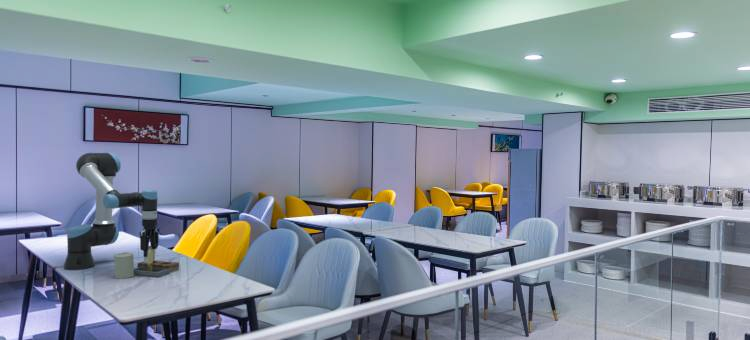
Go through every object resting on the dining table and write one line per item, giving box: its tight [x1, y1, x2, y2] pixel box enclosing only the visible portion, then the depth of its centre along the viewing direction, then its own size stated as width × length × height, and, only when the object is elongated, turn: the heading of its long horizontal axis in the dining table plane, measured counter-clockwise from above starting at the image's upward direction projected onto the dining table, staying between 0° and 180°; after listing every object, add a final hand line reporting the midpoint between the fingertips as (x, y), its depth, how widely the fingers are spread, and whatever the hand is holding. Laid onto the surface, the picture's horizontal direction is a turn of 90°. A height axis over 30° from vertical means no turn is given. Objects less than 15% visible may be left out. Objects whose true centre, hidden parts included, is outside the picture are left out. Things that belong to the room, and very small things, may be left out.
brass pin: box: [146, 249, 153, 272], centre depth 283 cm, size 4×4×13 cm
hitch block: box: [137, 260, 180, 274], centre depth 293 cm, size 20×9×4 cm, turn 76°
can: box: [113, 252, 135, 279], centre depth 277 cm, size 9×9×12 cm
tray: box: [134, 266, 170, 278], centre depth 283 cm, size 18×9×2 cm, turn 76°
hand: (149, 261), depth 283 cm, fingers open, 4 cm apart
